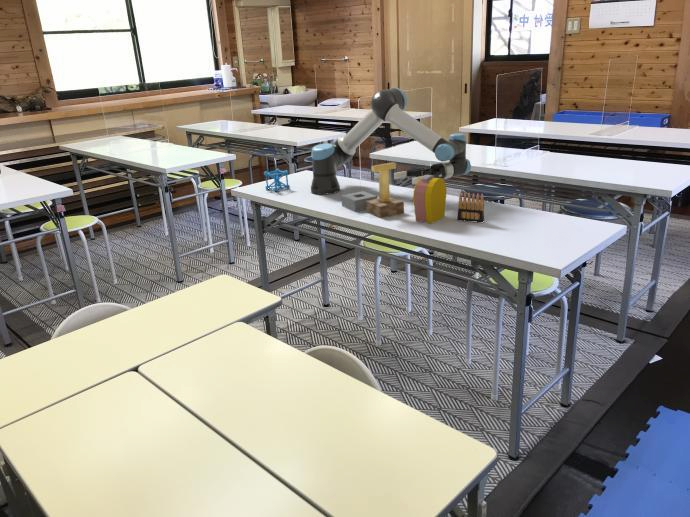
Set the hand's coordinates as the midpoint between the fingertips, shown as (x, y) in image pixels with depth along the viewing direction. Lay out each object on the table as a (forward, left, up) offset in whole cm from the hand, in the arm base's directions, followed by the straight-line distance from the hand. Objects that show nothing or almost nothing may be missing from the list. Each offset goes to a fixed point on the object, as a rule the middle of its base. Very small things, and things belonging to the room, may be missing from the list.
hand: (403, 178), depth 239 cm
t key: (+5, -9, -14) cm, 17 cm away
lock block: (+5, -9, -14) cm, 17 cm away
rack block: (-7, -20, -14) cm, 25 cm away
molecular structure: (-48, -63, -14) cm, 80 cm away
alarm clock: (+17, +9, -14) cm, 24 cm away
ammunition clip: (+23, +25, -14) cm, 37 cm away
